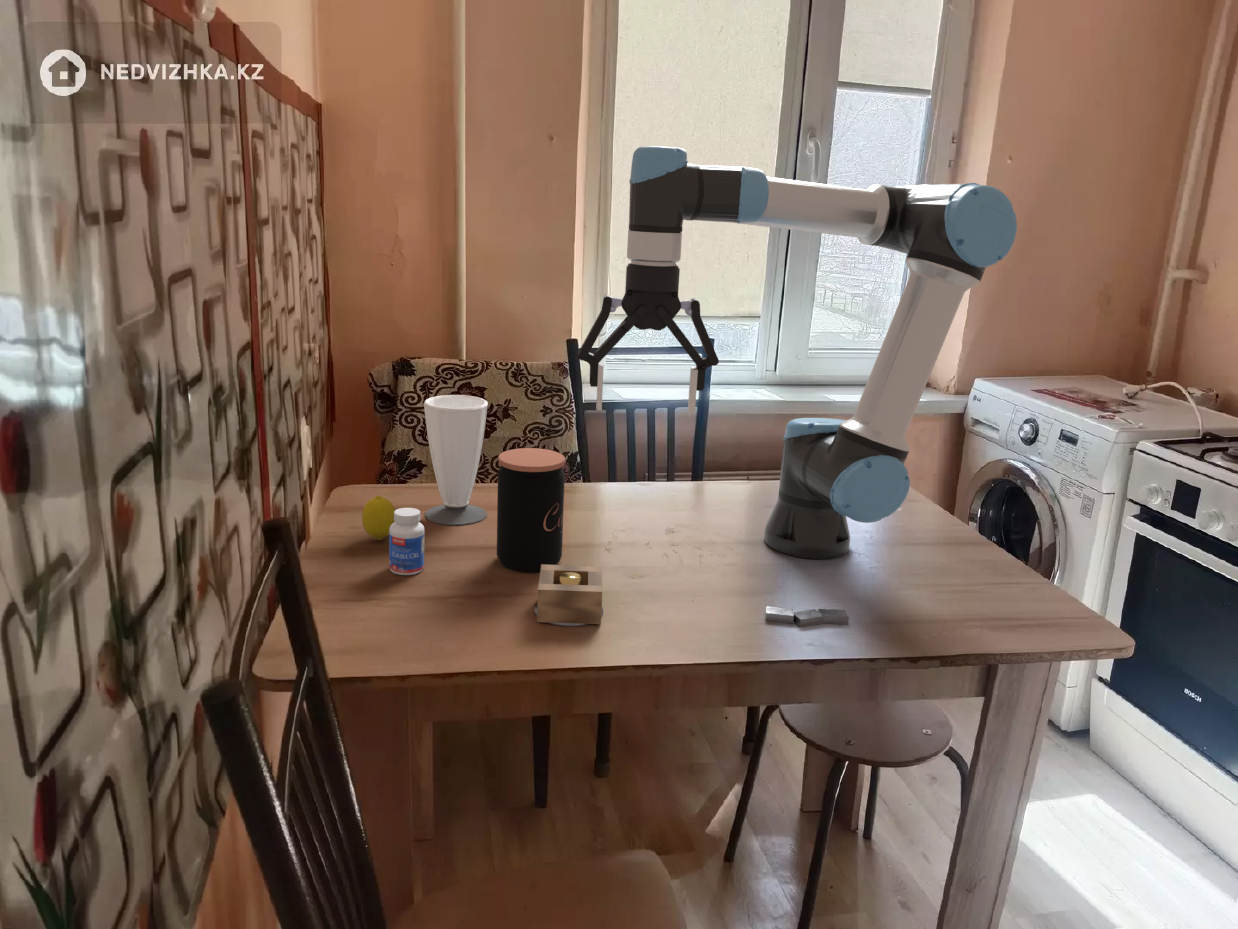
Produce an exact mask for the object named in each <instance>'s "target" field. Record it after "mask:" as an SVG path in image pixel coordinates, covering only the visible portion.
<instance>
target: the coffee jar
mask: <svg viewBox="0 0 1238 929" xmlns="http://www.w3.org/2000/svg"><path fill="white" fill-rule="evenodd" d="M497 459H498V463H499V465H500V467H499V470H498V471H497V501H496V502H497V508H496V510H497V511H496V512H497V513H496V514H497V516H496V518H497V520H496V556H497V559H498V560H499V561H498V562H500V563H501V566H502V567H505V569H508V570H510V571H513V572H518V573H522V574H523V573H524V574H526V573H527V574H534V573H535V574H537V573H540V571H541V564H544V565H558V563H559V562H560V561H561V559H562V555H563V539H564V538H563V536H564V535H563V534H564V533H563V532H564V506H565V504H564V503H565V482H566V481H565V479H566V478H565V477H566V474H565V471H564V469H563V467H564V466H565V463H566V457H565V455H563V453H560V452H557V451H554V450H551V449H545V448H538V447H537V448H536V447H525V448H524V447H521V448H514V449H509V450H506V451H502V452H501V453H500V454H499V455H498V458H497Z"/></svg>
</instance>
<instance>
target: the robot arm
mask: <svg viewBox="0 0 1238 929" xmlns="http://www.w3.org/2000/svg"><path fill="white" fill-rule="evenodd" d="M631 161H632V162H631V168H630V178H629V186H630V187H629V207H628V208H629V209H628V210H629V213H628V214H629V215H628V220H629V221H628V231H627V247H626V258H627V259H628V260H629V261H630V262H629V263H628V264H627V265H626V273H625V288H624V290H625V291H624V295H623V297H621V298H620V297H615V296H611V295H610V294H604V296H603V298H602V303H601V304H602V305H601V310H600V312H599V313H598V315H597V318H596V319H595V321H594V322H593V325H592V327H591V328H590V330H589V332H588V334H587V336H586V337H585V339H584V341H583V343H582V344H581V346H580V348H579V350H578V352H577V353H578V354H577V357H578V360H579V361H584V362H587V363H588V364H589V385H590V387H593V388H594V387H595V388H596V411H603V408H602V407H603V388H604V362H601V361H602V360H603V359H604V358H605V357H606V356H607V355H608V354H609V352H611V350H613V349H614V347H615V346H616V345H617V344H618V343H619V341H621V339H622V338H623V337H624V336H625V335H627V333H628V332H629V331H631V329H632V328H633V327H635V328H637V329H639V330H640V331H641V330H642V331H645V330H646V331H647V330H654V331H661V330H664V329H666V328H668V330H669V331H670V332H671V334H672V335H673V336H674V338H675V339H676V341H678V343H679V344H680V346H681V347H682V348H683V350H684V351H685V352H686V353H687V355H688V356H689V357H690V359H692V361H693V362H694V364H695V366H690V373H689V386H688V387H689V388H688V398H687V399H688V402H687V403H688V404H687V412H688V413H689V414H690V415H695V414H696V403H697V402H696V400H697V392H698V391H700V392H701V391H703V390H704V388H705V379H706V370H707V368H710V367H713V366H718V364H720V360H719V358H718V355H717V353H716V351H715V348H714V346H713V343H712V340H711V339H710V336H709V333H708V331H707V329H706V326H705V324H704V321H703V319H702V317H701V304H700V301H699V300H698V299H697V298H694V297H693V298H691V299H689V300H680V298H679V284H680V272H681V271H680V270H681V268H680V267H679V265H677V263H678V262H680V261H681V258H682V257H681V255H682V254H681V253H682V239H683V225H684V221H701V222H702V221H703V222H716V223H717V222H719V223H733V224H739V225H741V224H742V225H749V226H756V227H765V228H774V229H783V230H789V231H790V230H791V231H799V232H809V233H818V234H827V235H835V236H843V237H849V238H851V237H852V238H857V239H858V241H859V242H860V243H861V244H863V245H866V246H873V247H879V248H884V249H888V250H892V251H895V252H899V253H902V254H906V258H905V263H906V265H907V268H908V270H909V276H908V280H907V283H906V285H905V287H904V289H903V291H902V292H903V293H902V295H901V297H900V300H899V301H898V304H897V307H896V310H895V312H894V313H893V317H892V319H891V322H890V324H889V327H888V330H887V332H886V335H885V337H884V339H883V341H882V344H881V347H880V349H879V351H878V354H877V357H876V359H875V360H874V363H873V367H872V369H871V372H870V374H869V377H868V379H867V382H866V383H865V384H866V385H865V387H864V389H863V391H862V394H861V397H860V399H859V402H858V404H857V406H856V409H855V411H854V414H853V416H852V417H850V418H849V419H847V420H846V419H839V418H829V417H827V418H826V417H800V418H795V419H794V418H793V419H792V420H791V419H790V421H788V422H787V424H786V427H785V431H784V436H783V439H782V441H783V445H782V457H781V466H780V475H779V476H780V478H779V485H778V496H777V500H776V503H775V505H774V507H773V509H772V511H771V514H770V516H769V517H768V520H767V522H766V524H765V528H764V535H763V540H764V542H765V544H766V545H767V546H769V547H770V548H771V549H773V550H775V551H777V552H780V553H782V554H786V555H789V556H793V557H797V558H802V559H803V558H805V559H814V560H815V559H816V560H819V559H820V560H824V559H825V560H826V559H834V558H838V557H842V556H844V555H846V554H847V553H848V552H849V550H850V543H851V535H850V529H849V523H848V519H847V518H849V519H851V520H853V521H854V522H858V523H864V524H865V523H866V524H867V523H868V524H869V523H877V522H879V521H882V520H883V519H885V518H887V517H889V516H891V515H893V514H894V513H895V512H897V511H898V510H899V508H900V507H901V506H902V505H903V504H904V502H905V500H906V498H907V496H908V493H909V491H910V487H911V482H910V481H911V479H910V477H909V471H908V470H907V467H906V466H905V462H906V460H907V457H908V455H909V453H910V446H909V444H908V441H907V440H906V434H907V432H908V429H909V427H910V425H911V422H912V420H913V418H914V415H915V413H916V410H917V408H918V406H919V403H920V400H921V398H922V396H923V393H924V391H925V389H926V386H927V383H928V381H929V378H930V376H931V374H932V372H933V369H934V367H935V365H936V362H937V360H938V357H939V355H940V352H941V350H942V347H943V345H944V343H945V341H946V338H947V336H948V334H949V331H950V328H951V326H952V323H953V320H954V319H955V317H956V314H957V312H958V310H959V306H960V304H961V303H962V300H963V296H964V295H965V292H967V291H968V290H970V289H972V288H974V287H977V286H978V285H980V283H981V281H982V278H983V276H984V273H985V271H986V269H987V268H989V267H990V266H993V265H995V264H997V263H998V261H999V262H1000V261H1002V260H1003V259H1004V258H1005V257H1006V256H1007V255H1008V254H1009V252H1010V251H1011V249H1012V247H1013V245H1014V242H1015V240H1016V237H1017V236H1016V235H1017V231H1018V223H1017V222H1018V221H1017V214H1016V212H1015V211H1014V207H1013V204H1012V202H1011V200H1010V199H1009V197H1008V196H1007V195H1006V194H1005V193H1004V192H1003V191H1001V190H1000V189H998V188H996V187H995V186H991V185H987V184H986V185H984V184H980V183H976V182H968V183H967V182H966V183H924V184H911V185H882V184H878V183H877V184H872V185H871V186H869V187H868V188H867V189H864V188H858V187H857V188H856V187H849V186H841V185H835V184H834V185H833V184H825V183H817V182H810V181H803V180H796V179H794V180H793V179H786V178H780V177H771V176H767V175H766V173H764V171H763V170H761V169H759V168H755V167H746V166H745V165H743V166H728V165H705V164H704V165H701V164H693V163H689V160H688V154H687V151H686V150H685V149H684V148H682V147H681V148H680V147H673V146H672V147H670V146H657V145H656V146H653V145H651V146H650V145H647V146H640V147H639V146H638V147H637V148H636V149H635V150H634V152H633V153H632V160H631ZM619 307H621V308H622V310H623V311H624V313H625V315H627V316H626V317H625V318H624V319H623V320H622V321H621V322H620V324H619V325H618V326H617V328H615V330H613V331H612V333H611V334H610V335H609V336H608V337H607V338H606V339H605V340H604V341H603V343H602V344H601V345H600V346H598V348H597V349H595V351H594V352H593V353H592V352H590V351H591V350H592V348H593V347H594V344H595V343H596V341H597V339H598V337H599V336H600V334H601V332H602V329H603V328H604V327H605V325H606V323H607V320H608V319H609V317H610V314H611V313H614V312H616V310H617V308H619ZM680 310H684V313H685V314H686V315H687V316H690V318H691V321H692V324H693V326H694V329H695V331H696V333H697V336H698V338H699V340H700V342H701V345H702V347H703V350H704V353H705V355H706V356H705V357H701V355H700V354H699V352H698V351H697V350H696V348H695V347H694V345H693V344H692V343H691V342H690V341H689V339H688V337H687V336H686V335H685V333H684V332H683V331H682V329H681V328H680V327H679V326H678V324H677V323H676V322H675V320H674V318H675V317H676V315H677V314H678V313H679V312H680Z"/></svg>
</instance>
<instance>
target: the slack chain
mask: <svg viewBox="0 0 1238 929" xmlns="http://www.w3.org/2000/svg"><path fill="white" fill-rule="evenodd" d="M764 616H765V621H767V622H777V623H786V624H795V625H797V626H798V627H799V628H802V627H810V626H815V625H822V624H828V625H829V624H830V625H849V621H850V620H849V619H850V616H849V614H848V613H847V611H846V610H845V609H839V608H838V609H833V608H832V609H830V608H818V609H815V608H814V609H806V610H800V611H794V608H788V607H787V608H786V607H778V606H770V605H769V606H768V605H766V606H765V614H764Z"/></svg>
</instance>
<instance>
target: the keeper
mask: <svg viewBox="0 0 1238 929" xmlns="http://www.w3.org/2000/svg"><path fill="white" fill-rule="evenodd" d="M580 580H581V576H580V575H579V574H577V573H573V572H566V573H562V574H561V575H560V584H562V585H580ZM537 608H538V602H537V603H536V604H535V606H534V614H535V615H536V617H537ZM603 615H604V609H603V607H602V609H601V618H602V617H603ZM546 623H547V624H550V625H552V626H558V627H559V626H560V627H570V628H573V627H582V626H587V625H589V624H580V623H549V622H546Z"/></svg>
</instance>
